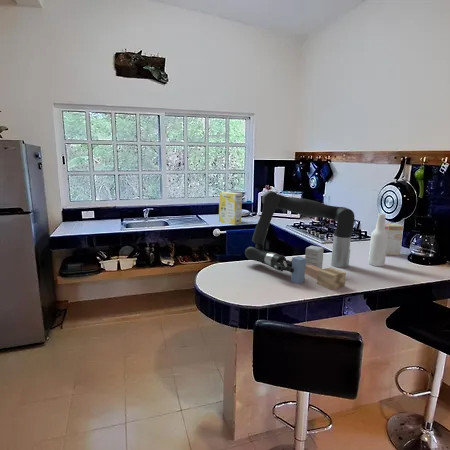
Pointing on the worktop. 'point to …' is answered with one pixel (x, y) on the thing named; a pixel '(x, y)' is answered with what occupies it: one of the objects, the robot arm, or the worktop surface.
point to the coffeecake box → (393, 238)
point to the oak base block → (331, 278)
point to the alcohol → (378, 243)
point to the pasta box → (230, 207)
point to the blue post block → (298, 269)
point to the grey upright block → (314, 256)
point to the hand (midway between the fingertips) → (299, 269)
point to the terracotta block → (312, 271)
